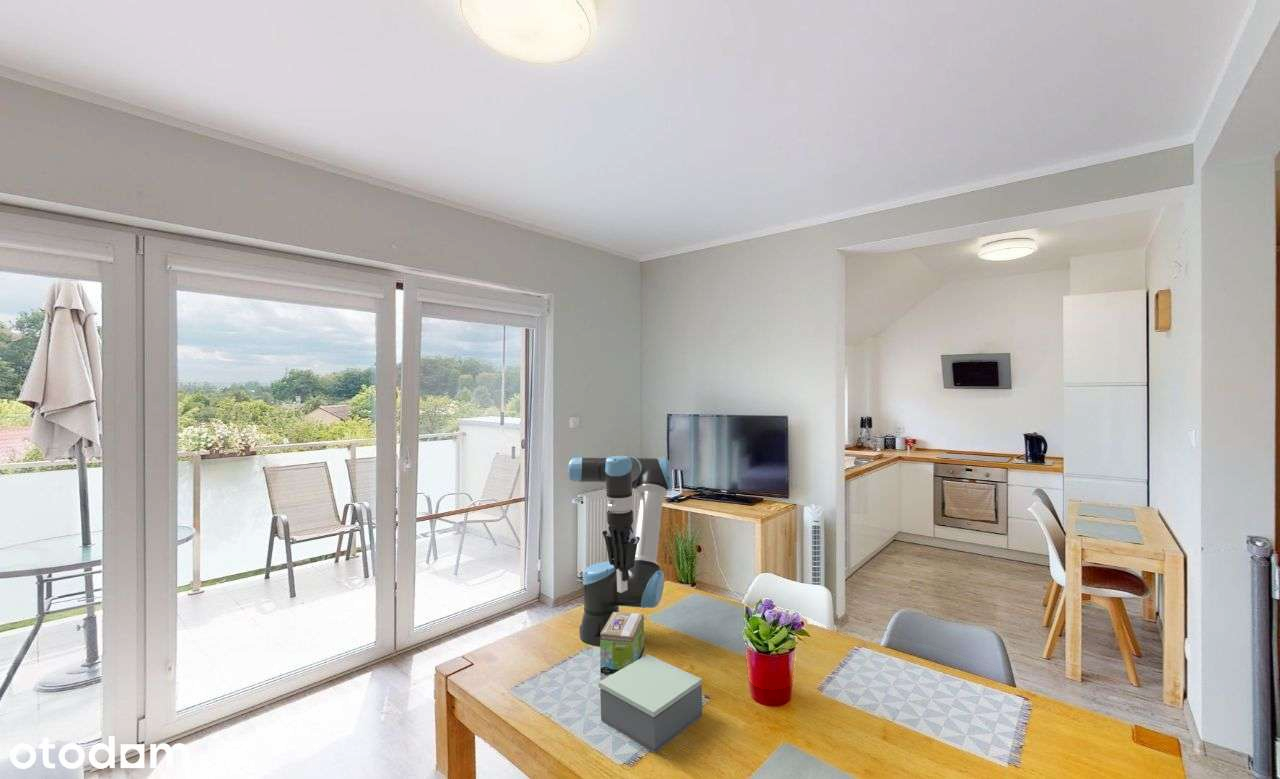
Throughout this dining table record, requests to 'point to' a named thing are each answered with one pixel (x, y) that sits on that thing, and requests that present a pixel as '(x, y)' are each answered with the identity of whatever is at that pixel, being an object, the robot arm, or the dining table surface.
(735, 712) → the dining table surface
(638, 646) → the tea box
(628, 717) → the storage box
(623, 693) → the lid
